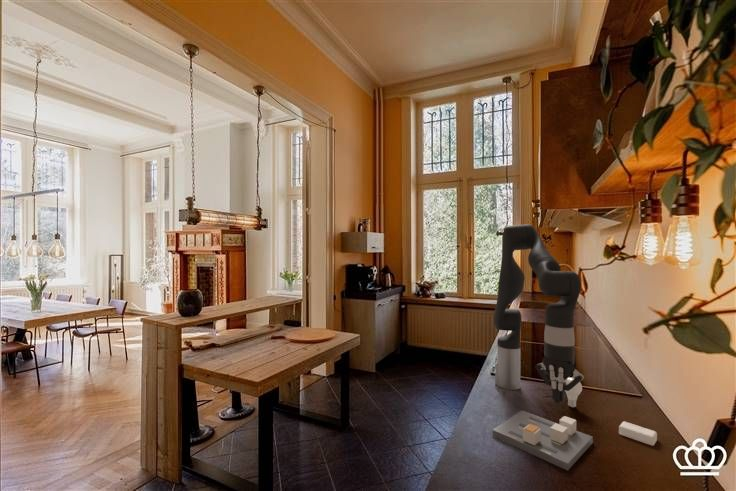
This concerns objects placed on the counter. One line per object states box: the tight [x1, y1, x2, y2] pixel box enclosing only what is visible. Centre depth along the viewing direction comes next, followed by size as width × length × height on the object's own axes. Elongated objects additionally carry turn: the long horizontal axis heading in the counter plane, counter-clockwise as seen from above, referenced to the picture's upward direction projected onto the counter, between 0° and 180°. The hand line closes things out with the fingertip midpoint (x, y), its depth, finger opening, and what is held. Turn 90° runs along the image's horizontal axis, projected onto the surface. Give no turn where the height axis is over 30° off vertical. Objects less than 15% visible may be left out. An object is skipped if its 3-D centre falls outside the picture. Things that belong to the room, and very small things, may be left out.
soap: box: [618, 421, 658, 446], centre depth 110 cm, size 9×6×3 cm, turn 41°
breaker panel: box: [492, 410, 594, 471], centre depth 108 cm, size 22×20×6 cm
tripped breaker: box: [523, 424, 541, 445], centre depth 104 cm, size 4×4×4 cm
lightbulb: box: [565, 376, 583, 408], centre depth 130 cm, size 6×6×11 cm
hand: (558, 402), depth 98 cm, fingers closed
